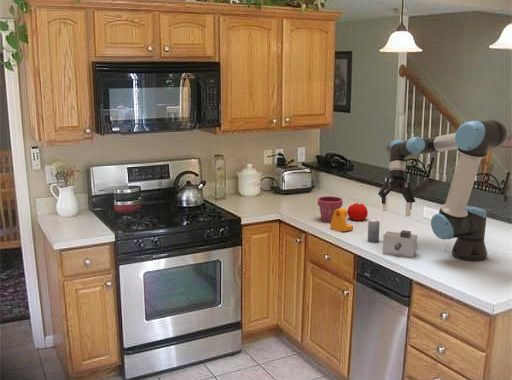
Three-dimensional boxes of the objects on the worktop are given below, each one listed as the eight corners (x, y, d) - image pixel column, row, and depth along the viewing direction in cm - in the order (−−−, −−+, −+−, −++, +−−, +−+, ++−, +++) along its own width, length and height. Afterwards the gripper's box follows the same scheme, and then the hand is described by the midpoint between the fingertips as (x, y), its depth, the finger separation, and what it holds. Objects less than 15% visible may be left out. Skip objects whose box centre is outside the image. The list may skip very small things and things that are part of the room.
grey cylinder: (381, 241, 268) (382, 220, 266) (374, 243, 264) (375, 222, 262) (371, 238, 272) (372, 217, 270) (365, 240, 268) (366, 219, 266)
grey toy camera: (420, 247, 258) (421, 225, 255) (412, 259, 241) (413, 235, 238) (391, 243, 264) (392, 222, 262) (381, 254, 247) (382, 232, 245)
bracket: (353, 230, 287) (354, 209, 284) (344, 233, 282) (345, 211, 280) (339, 226, 295) (340, 205, 293) (330, 228, 291) (330, 207, 288)
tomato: (350, 216, 316) (350, 201, 314) (370, 218, 311) (370, 203, 309) (344, 220, 307) (344, 205, 305) (364, 223, 302) (365, 207, 300)
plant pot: (339, 224, 299) (340, 202, 296) (315, 222, 303) (315, 200, 301) (343, 218, 312) (344, 197, 309) (320, 216, 316) (320, 195, 314)
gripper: (412, 178, 267) (412, 219, 261) (371, 167, 258) (370, 210, 252) (422, 174, 260) (422, 216, 254) (381, 163, 251) (380, 207, 245)
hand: (396, 213), depth 253 cm, fingers open, 13 cm apart
